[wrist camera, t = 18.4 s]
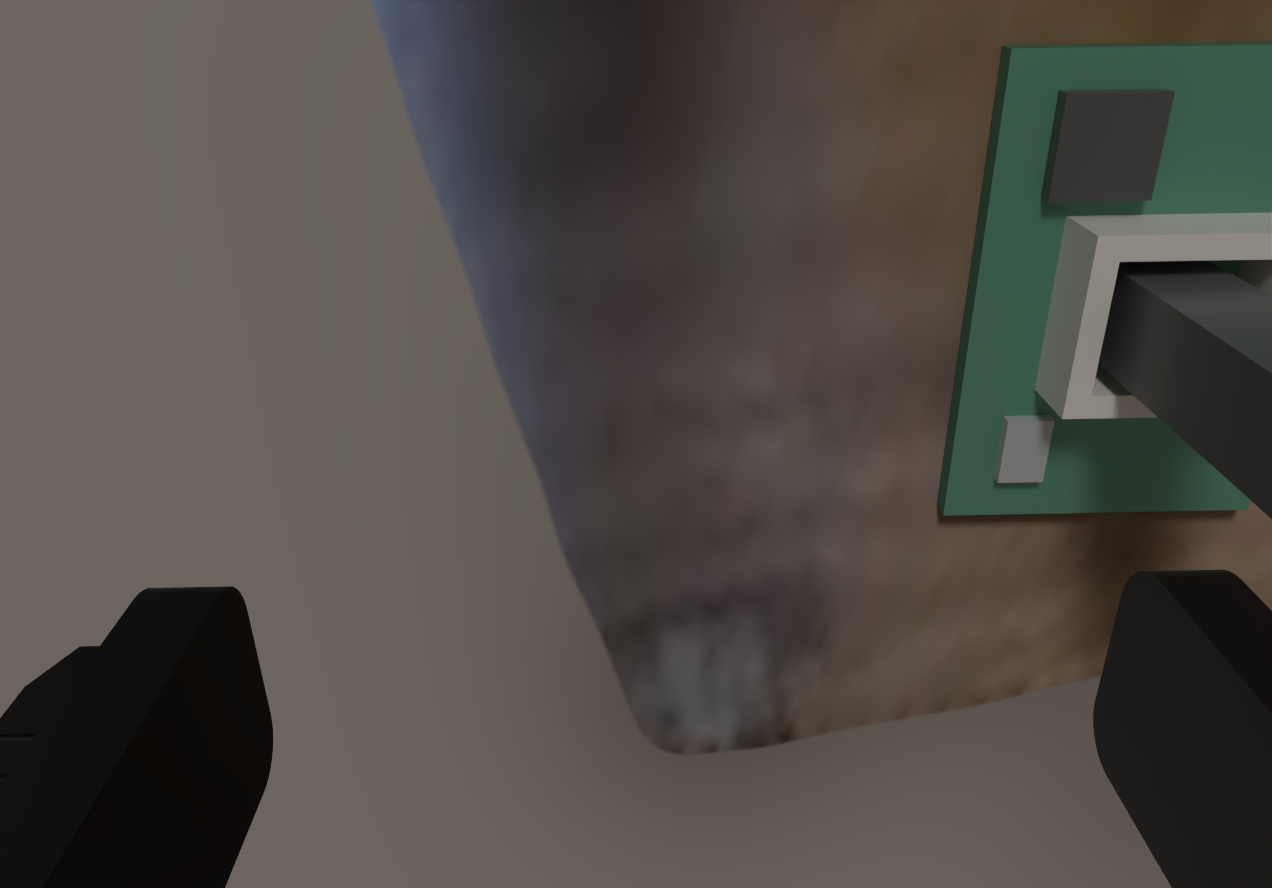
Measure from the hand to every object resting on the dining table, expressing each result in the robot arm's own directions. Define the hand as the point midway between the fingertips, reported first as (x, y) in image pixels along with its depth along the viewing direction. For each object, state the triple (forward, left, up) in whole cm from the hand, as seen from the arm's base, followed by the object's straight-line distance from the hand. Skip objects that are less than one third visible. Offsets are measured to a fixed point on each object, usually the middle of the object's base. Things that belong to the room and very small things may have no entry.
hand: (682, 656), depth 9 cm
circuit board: (+8, +21, -33) cm, 40 cm away
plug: (+8, +21, -32) cm, 39 cm away
